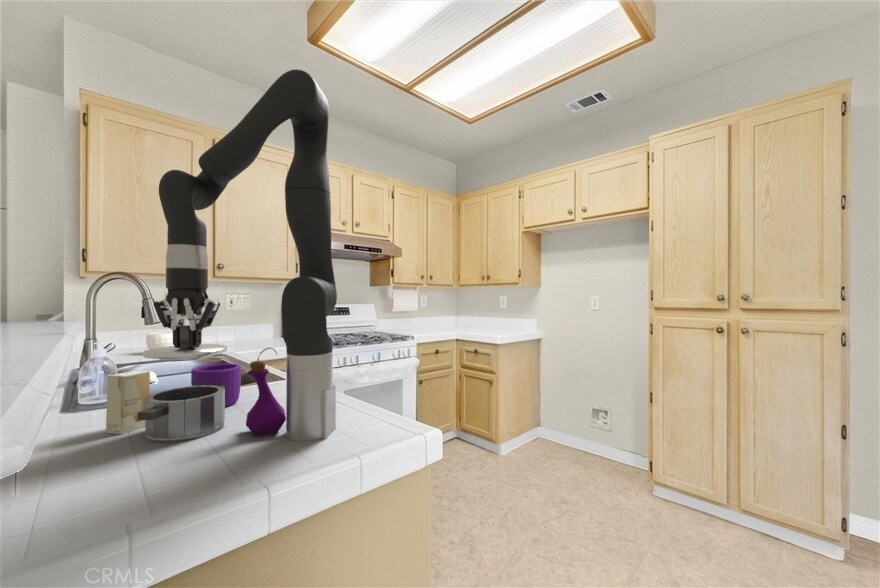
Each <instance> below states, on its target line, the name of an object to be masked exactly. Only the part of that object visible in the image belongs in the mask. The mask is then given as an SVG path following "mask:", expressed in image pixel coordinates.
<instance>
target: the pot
mask: <svg viewBox="0 0 880 588" xmlns="http://www.w3.org/2000/svg"><path fill="white" fill-rule="evenodd" d="M225 411H226V407H225V385H200V386H191V385H188V386H181V387H175V388H170V389H164V390H159V391H156V392H154V393H150V395H149V396H147V397H146V398H145V410H143V411H140V412H138V419H137V420H145V427H144V433H145V439H146V441H148V442H152V443H158V444H159V443H160V444H161V443H163V444H165V443H167V444H168V443H169V444H171V443H181V442H188V441H193V440H196V439H200V438H204V437H207V436H210V435H212V434H213V435H214V434H216V433H217V432H219V431H221V430H222V429H223V428H224V427H225V421H226V419H225V418H226V412H225Z"/></svg>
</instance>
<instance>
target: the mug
mask: <svg viewBox="0 0 880 588" xmlns="http://www.w3.org/2000/svg"><path fill="white" fill-rule="evenodd" d="M190 371H191V372H190V373H191V376H190V378H191V379H190V380H191V381H190V383H191V385H190V386H200V385H225V408H226V407H229V406H231V405H234V404H235V403H237V402H238V400H239V398H240V394H241V383H242V381H241V380H242V366H241V365H240V364H237V363H213V364H205V365H200V366H196V367H194V368H192V369H191V370H190Z"/></svg>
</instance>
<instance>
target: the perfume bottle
mask: <svg viewBox="0 0 880 588" xmlns="http://www.w3.org/2000/svg"><path fill="white" fill-rule="evenodd" d="M267 350H272V351H274V352H275V354H276V355H278V352H277V350H276V349H275V348H274V347H272V346H271V347H269V346H268V347H265V348H264V349H263V350H261V351H260V352H259V355H258V357H257V360H254V361H252V362H250V363H249V366H250V369H251V370H249V371H247V375H248V376H250V377H252V378H253V379H254V381H255V383H256V384H257V389H258V398H257V400H256V401H255V403H254V405H252V407H251V408H250V410H249V411H248V412H247V415H246V420H245V426H246V428H247V429H248V430H249V431H250V433H252V434H253V436H255V437H264V436H270V435H271V436H272V435H276V434H278V433H279V431H280V430H281V428H282V426H283V425H284V424H285V422H286V412H285V408H283V407H282V406H283V405H281V404H280V403H279V402H278V400H277V399H276V397H275V396H274V395H273V393H272V390H271V388H270V386H269V384H268V382H267V378H266V377H267V374H270V370H269V368H266V363H265V362H264V361H261V360H260V356H261V354H262V353H264V352H265V351H267Z"/></svg>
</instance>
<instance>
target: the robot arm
mask: <svg viewBox="0 0 880 588" xmlns="http://www.w3.org/2000/svg"><path fill="white" fill-rule="evenodd" d="M329 105H330V104H329V101H328V99H327V96H326V95H325V93H324V92H323V90H322V89H321V88H320V86H319V84H318V83H317V82H316V80H315V79H314V78H313V76H311V74H310V73H308V72H307V71H305V70H302V69H298V68H297V69H290V70H287V71H286V72H284V73H283V74H282V75H280V76H279V77H278V78H277V79H276V80H275V81H274V82H273V83H272V84H271V86H270V87H269V88H268V89H267V90H266V91H265V93H264V94H263V95H262V96H261V97H260V98H259V99H258V101H257V102H256V103H255V104H254V105H253V106H252V108H251V109H250V110H249V111H248V112H247V113H246V114H245V116H244V117H243V118H242V119H241V120H240V121H239V122H238V123H237V124H236V125H235V126H234V127H233V129H231V130H230V131H229V132H228V133H227V134H225V136H223V137H222V138H221V139H219V140H218V141H217V142H216V143H214V144H213V145H212V146H211V147H210V148H208V149H207V150H206V151H205V152H203V153H202V154H201V155H200V156H199V158H198V165H199V167H200V169H201V171H200V173H199V174H197V175H196V176H195V175H192V174H191V173H188V172H186V171H183V170H180V169H171V170H168V171H167V172H165V173H164V174H163V175H162V176H161V178H160V181H159V185H158V196H159V201H160V204H161V208H162V211H163V215H164V218H165V219H164V220H165V222H166V224H167V234H166V235H167V236H166V237H167V245H166V246H167V248H166V254H165V288H166V289H167V294H166V296H165V298H164V299H162V300H159V301H154V302H153V307H154V310H155V311H156V313H157V315H158V318H159V320H160V322H161V324H162V326H163V328H169V329H170V330H172V331H171V332H173V345H174V347H175V348H179V326H183V325H186V320H187V321H188V323H189V324H188V325H190V329H191V330H192V331H190V348H197V347H199V346H200V345H201V344H203V343H202V338H203V337H202V334H203V333H202V331H203V329H206V328H209V327H211V326H212V324H213V322H214V319H215V317H216V315H217V313H218V310H219V308H220V306H221V302H220V301H218V300H217V301H215V300H212V299H210V298H209V295H208V294H207V290H208V287H209V286H208V285H209V283H208V282H209V281H208V280H209V278H208V277H209V273H208V272H209V268H208V267H209V256H208V251H207V250H208V249H207V248H208V247H207V246H208V245H207V240H208V239H207V236H208V235H207V233H208V231H207V224H206V223H205V222H204V221H202V220H201V219H200V218H198V216H197V215H196V211H202V210H205V209H207V208H209V207H211V206H212V205H213V204H215V202H216V201H217V200H218V199H219V197H220V196H221V195H222V193H223V192H224V191H225V189H226V187H228V184H229V183H230V182H231V181H232V180H234V179H235V178H236V177H238V176H239V175H240V174H241V173H243V172H244V171H245V170H246V169H248V168H249V167H250V166H251V165H252V164H253V163H254V161H256V159H257V158H258V156H259V154H260V153H261V151H262V150H263V149H262V148H263V147H264V144H265V143H266V142H267V139H268V138H269V136H270V135H272V133H273V132H274V131H275V130H276V129H277V128H278V127H279V126H280V125H282V124H283V123H285V122H287V121H288V120H289V119H290V123H291V124H292V125H291V126H292V132H293V143H294V149H293V150H294V151H293V157H292V161H291V163H290V166H289V168H288V171H287V174H286V177H285V183H284V200H285V201H284V202H285V205H284V207H285V214H286V220H287V223H288V227H289V229H290V233H291V236H292V239H293V241H294V244H295V247H296V249H297V254H298V255H297V256H298V265H299V266H298V267H299V270H298V271H299V276H297V277H294V278H292V279H291V280H289V282H287V283H286V285H285V286H284V289H283V291H282V295H281V303H280V304H281V306H280V307H281V331H282V339H283V342H284V343H285V346H286V347H285V349H286V374H285V375H286V385H285V387H286V399H285V400H286V401H285V402H286V403H285V405H286V412H285V417H286V420H285V422H286V425H285V426H286V427H285V429H286V434H285V435H286V439H288V440H290V441H294V442H311V441H317V440H326V439H328V437H330V435H331V434H332V433H333V432H334V431H335V430H336V428H337V427H336V424H337V423H336V421H337V419H336V417H337V416H336V414H337V413H336V409H337V408H336V400H337V399H336V397H337V396H336V393H337V391H336V390H337V388H336V387H337V386H336V385H334V384H333V339H332V338H331V337H330V335H329V332H328V327H327V317H328V316H330V315H331V314H332V312H333V311H334V309H335V307H336V304H337V301H338V296H337V293H338V292H337V286H336V279H335V273H334V267H333V258H332V256H333V255H332V221H331V220H332V215H331V214H332V206H331V205H332V203H331V188H330V174H329V173H330V172H329V171H330V170H329V158H328V139H329V137H328V136H329V126H330V125H329V123H330V122H329V121H330V106H329ZM203 308H204V310H203Z"/></svg>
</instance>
